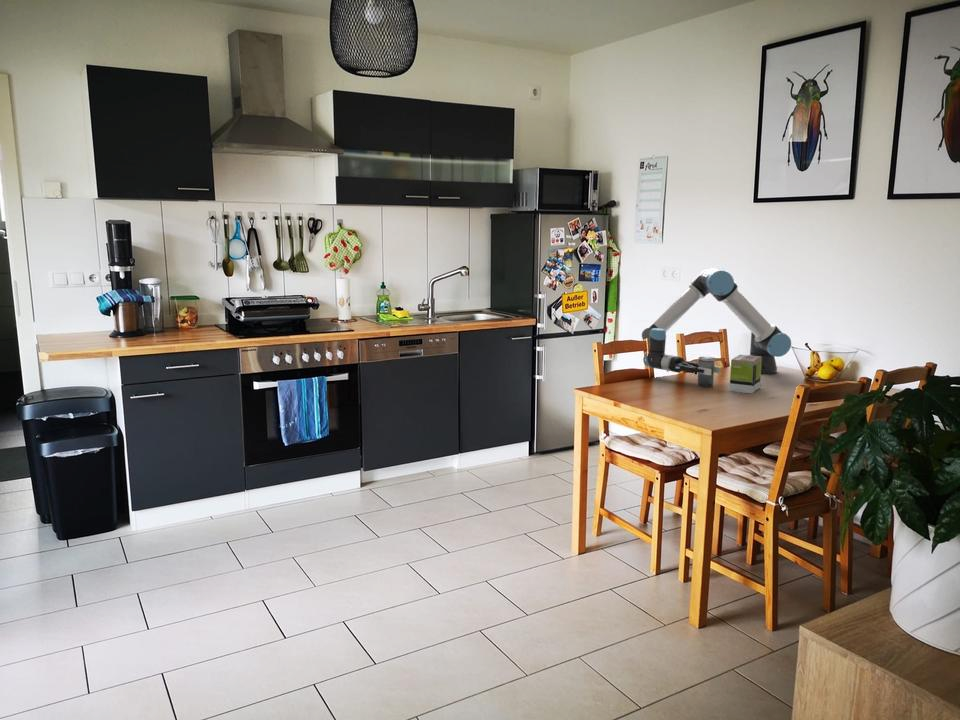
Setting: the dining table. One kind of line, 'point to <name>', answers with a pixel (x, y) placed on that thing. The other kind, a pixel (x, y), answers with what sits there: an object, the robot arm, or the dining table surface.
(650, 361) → the robot arm
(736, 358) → the tea box
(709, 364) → the tin canister
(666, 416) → the dining table surface
